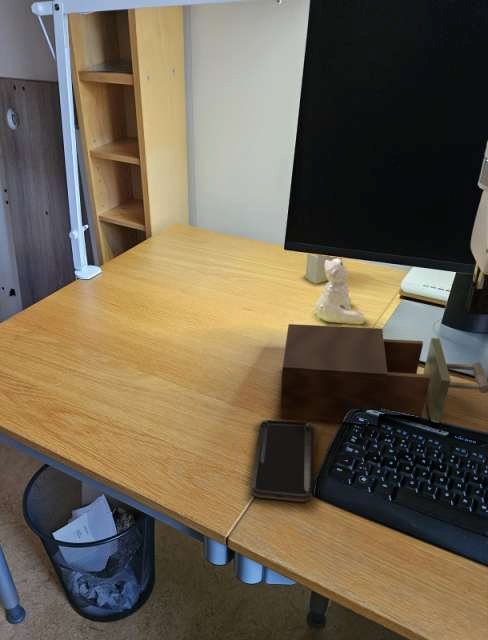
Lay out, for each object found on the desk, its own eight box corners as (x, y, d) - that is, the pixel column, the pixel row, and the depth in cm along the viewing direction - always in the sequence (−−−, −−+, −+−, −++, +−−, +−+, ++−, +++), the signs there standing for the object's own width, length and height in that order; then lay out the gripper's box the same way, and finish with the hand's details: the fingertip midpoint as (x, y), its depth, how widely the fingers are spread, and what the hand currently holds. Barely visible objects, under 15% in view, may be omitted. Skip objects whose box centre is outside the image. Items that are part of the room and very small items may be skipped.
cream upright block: (340, 276, 125) (344, 232, 119) (315, 283, 123) (319, 239, 117) (329, 270, 128) (333, 227, 122) (305, 278, 125) (308, 234, 119)
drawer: (470, 382, 89) (483, 340, 85) (485, 427, 81) (499, 383, 76) (344, 373, 94) (349, 333, 89) (344, 416, 85) (350, 374, 80)
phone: (313, 423, 83) (311, 496, 72) (312, 428, 84) (310, 503, 72) (260, 419, 85) (250, 491, 73) (260, 425, 86) (250, 497, 74)
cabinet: (374, 378, 94) (382, 328, 88) (377, 426, 84) (387, 373, 78) (286, 372, 97) (288, 323, 91) (279, 418, 87) (282, 366, 81)
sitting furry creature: (366, 325, 107) (375, 266, 100) (323, 331, 107) (328, 272, 99) (347, 303, 115) (354, 247, 108) (307, 308, 114) (311, 252, 107)
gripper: (571, 192, 59) (523, 341, 70) (533, 155, 71) (496, 288, 82) (495, 193, 61) (459, 338, 72) (469, 157, 72) (441, 287, 83)
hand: (479, 311), depth 77 cm, fingers closed
